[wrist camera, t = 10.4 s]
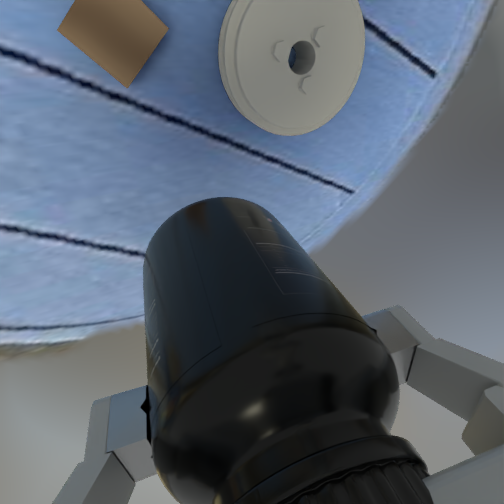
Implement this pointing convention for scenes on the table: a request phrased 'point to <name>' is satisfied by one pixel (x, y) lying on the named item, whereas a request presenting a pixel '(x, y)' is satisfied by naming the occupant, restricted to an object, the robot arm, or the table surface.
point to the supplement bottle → (265, 371)
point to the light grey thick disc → (277, 54)
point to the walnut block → (114, 34)
